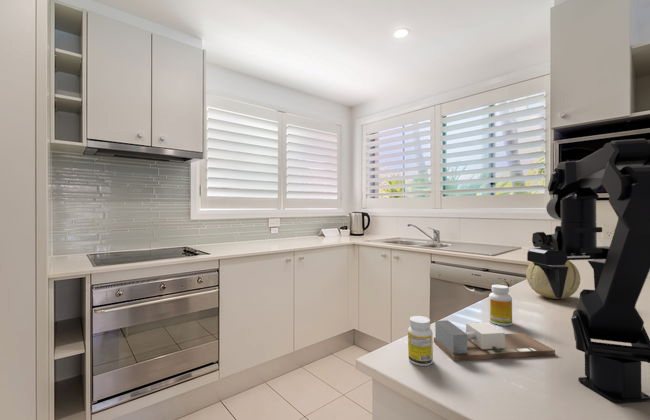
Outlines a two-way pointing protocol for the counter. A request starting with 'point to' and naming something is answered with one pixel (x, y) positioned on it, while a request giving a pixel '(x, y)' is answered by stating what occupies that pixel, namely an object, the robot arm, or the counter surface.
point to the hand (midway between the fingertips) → (578, 297)
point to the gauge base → (503, 349)
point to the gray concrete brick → (451, 337)
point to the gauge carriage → (485, 336)
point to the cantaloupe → (543, 286)
